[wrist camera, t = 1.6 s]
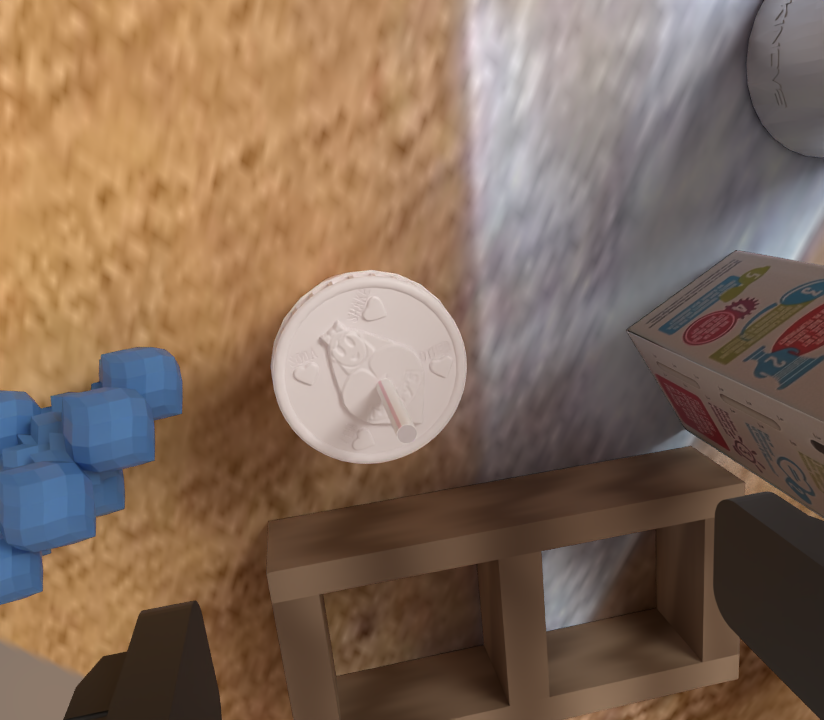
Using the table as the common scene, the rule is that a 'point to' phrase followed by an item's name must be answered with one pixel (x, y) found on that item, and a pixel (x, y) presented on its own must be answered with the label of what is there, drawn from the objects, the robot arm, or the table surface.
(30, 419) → the grapes
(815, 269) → the juice carton
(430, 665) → the slot rack
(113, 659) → the robot arm
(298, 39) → the table surface
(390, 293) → the smoothie
